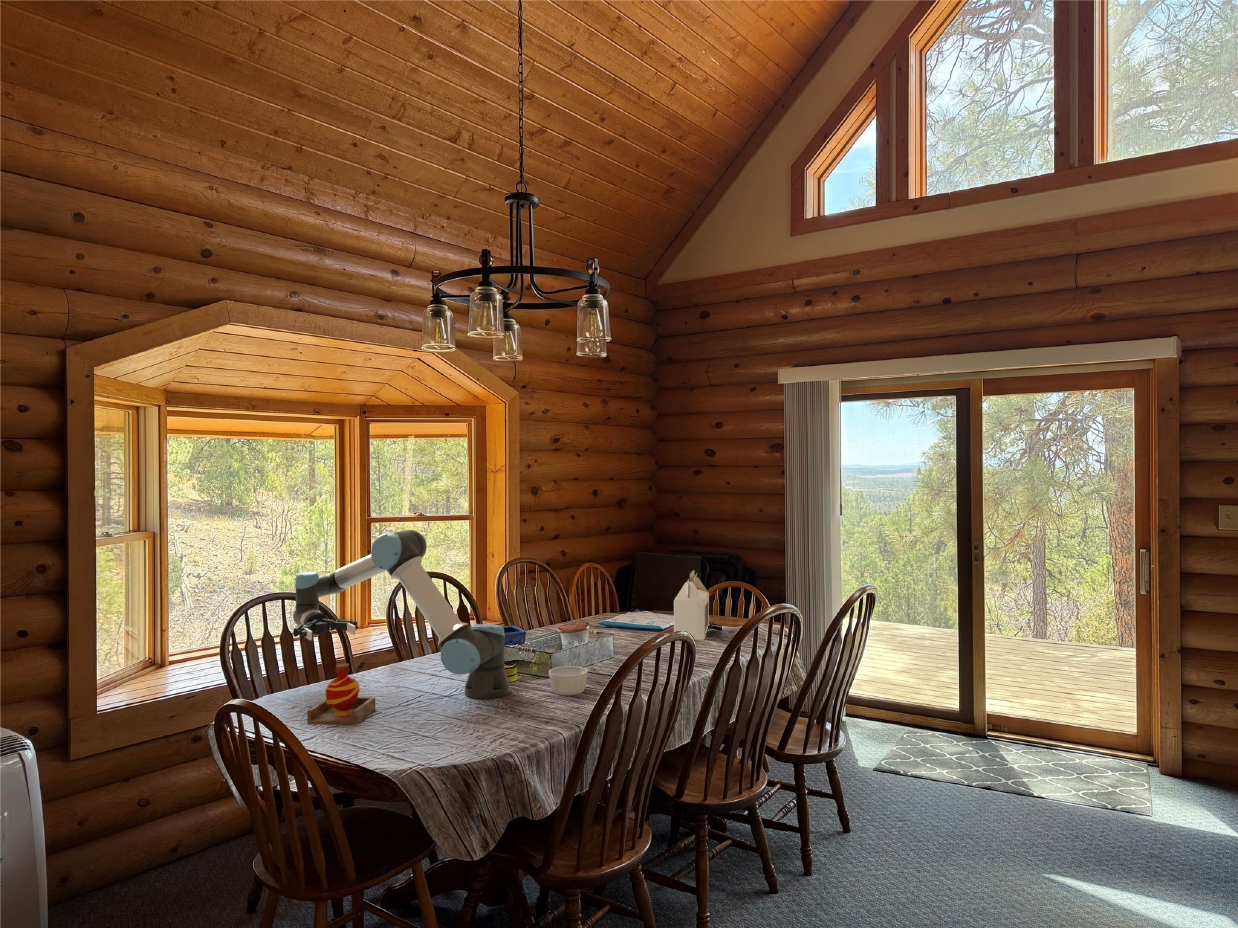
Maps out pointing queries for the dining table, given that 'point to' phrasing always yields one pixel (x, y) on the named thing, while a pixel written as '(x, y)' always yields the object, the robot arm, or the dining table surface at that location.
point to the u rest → (326, 716)
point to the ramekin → (568, 680)
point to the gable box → (692, 608)
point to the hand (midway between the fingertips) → (332, 633)
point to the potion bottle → (342, 691)
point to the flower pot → (514, 635)
